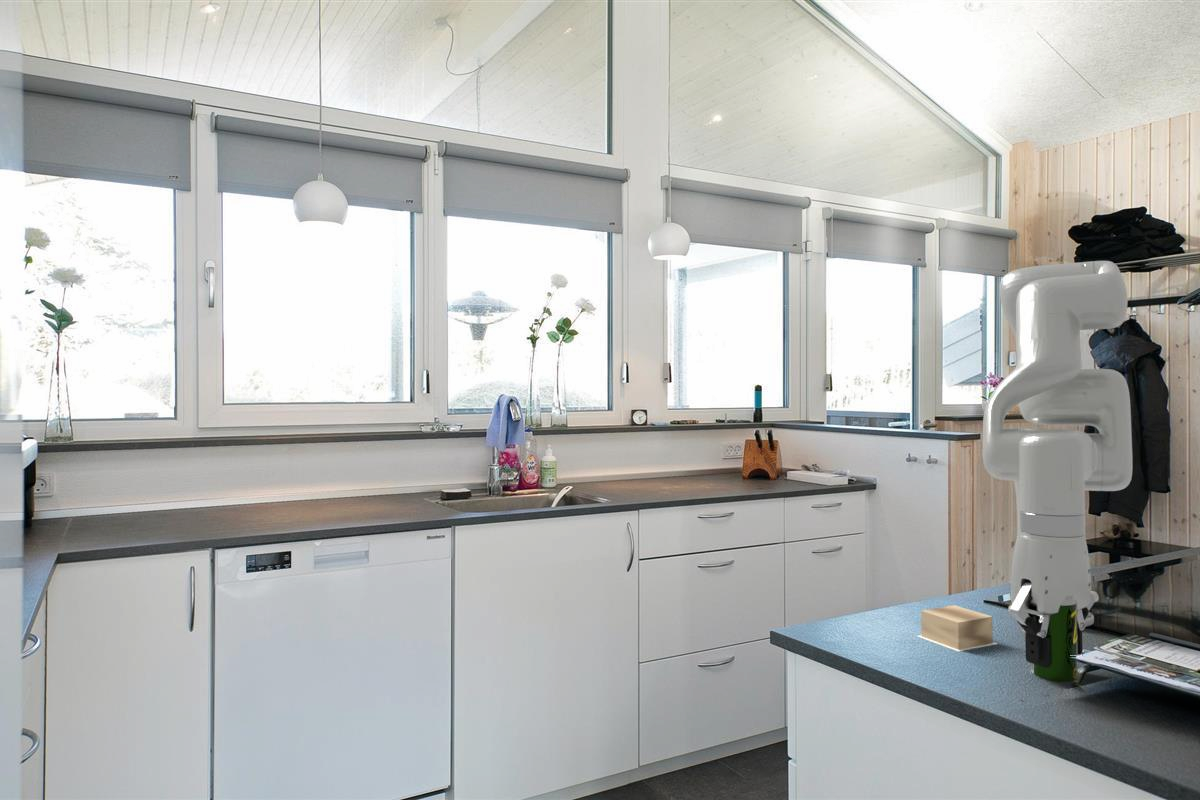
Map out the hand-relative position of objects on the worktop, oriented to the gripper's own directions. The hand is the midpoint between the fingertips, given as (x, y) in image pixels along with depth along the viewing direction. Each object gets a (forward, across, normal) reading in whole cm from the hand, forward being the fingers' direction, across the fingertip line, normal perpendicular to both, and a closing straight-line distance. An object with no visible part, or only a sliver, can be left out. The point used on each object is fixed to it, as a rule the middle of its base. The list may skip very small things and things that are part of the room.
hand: (1054, 659), depth 102 cm
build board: (+3, 0, -16) cm, 16 cm away
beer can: (+3, 0, 0) cm, 3 cm away
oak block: (+2, 0, -16) cm, 16 cm away
